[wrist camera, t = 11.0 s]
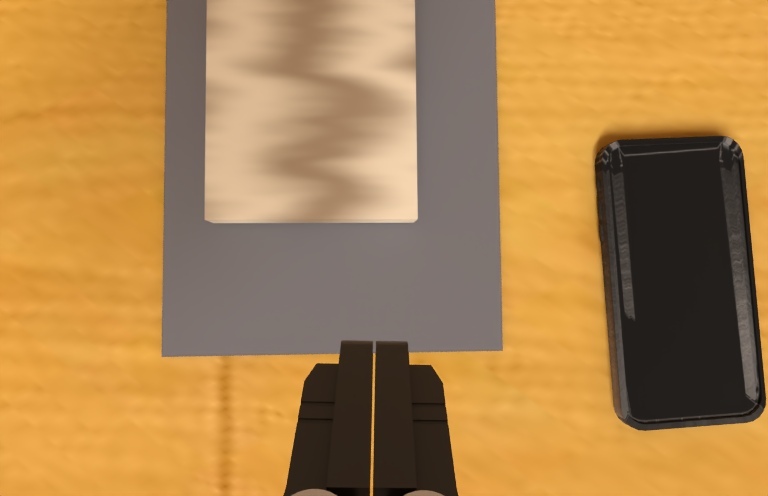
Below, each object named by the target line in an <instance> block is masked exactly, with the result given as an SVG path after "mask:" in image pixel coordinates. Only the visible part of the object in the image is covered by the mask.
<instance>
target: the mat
mask: <svg viewBox="0 0 768 496" xmlns="http://www.w3.org/2000/svg"><path fill="white" fill-rule="evenodd" d="M206 26H207V0H167V37H166V104H165V172H164V240H163V307H162V357H179V356H234V355H289V354H340V346H341V341H342V340H355V341H373V353H376V341H407V342H408V351H409V352H455V351H503V345H502V299H501V254H500V208H499V163H498V117H497V71H496V26H495V0H415V45H416V122H417V199H418V219H417V220H416V221H415V222H414V223H212V222H209V221H207V220H205V123H206Z"/></svg>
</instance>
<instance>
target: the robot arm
mask: <svg viewBox="0 0 768 496" xmlns="http://www.w3.org/2000/svg"><path fill="white" fill-rule="evenodd" d="M372 375H373V341H355V340H342V341H341V346H340V356H339V364H320V363H317V364H316V365H315V367H314V368H313V370H312V371H311V372H310V374H309V375H308V377H307V378H306V379H305V381H304V387H303V392H302V398H301V405H300V410H299V416H298V423H297V427H296V433H295V439H294V445H293V450H292V456H291V462H290V468H289V474H288V479H287V485H286V489H285V493H284V495H283V496H370V469H371V425H372ZM447 421H448V420H447V412H446V407H445V397H444V389H443V383H442V381H441V380H440V378H439V377H438V375H437V374H436V372H435V370H434V369H433V367H432V366H431V365H409V351H408V342H407V341H376V362H375V411H374V470H373V496H458V493H457V488H456V481H455V473H454V465H453V458H452V450H451V442H450V435H449V427H448V422H447Z"/></svg>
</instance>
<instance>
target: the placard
mask: <svg viewBox="0 0 768 496" xmlns="http://www.w3.org/2000/svg"><path fill="white" fill-rule="evenodd" d="M417 219H418V199H417V122H416V45H415V0H207V26H206V123H205V220H207V221H209V222H212V223H414V222H415V221H416V220H417Z"/></svg>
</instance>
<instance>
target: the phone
mask: <svg viewBox="0 0 768 496" xmlns="http://www.w3.org/2000/svg"><path fill="white" fill-rule="evenodd" d="M595 172H596V185H597V198H598V213H599V223H600V225H599V230H600V241H601V249H602V262H603V275H604V287H605V300H606V313H607V326H608V338H609V351H610V364H611V377H612V390H613V402H614V409H615V413H616V414H617V416H618V418H619V419H620V420H621V421H622V422H624V423H625V424H627V425H629V426H631V427H633V428H635V429H637V430H644V431H646V430H659V429H672V428H684V427H697V426H710V425H723V424H735V423H747V422H751V421H754V420H755V419H757V418H758V417H759V416H760V415H761V414H762V413H763V411H764V408H765V405H766V394H765V383H764V372H763V362H762V351H761V340H760V329H759V319H758V308H757V297H756V286H755V276H754V265H753V254H752V243H751V233H750V222H749V211H748V200H747V190H746V179H745V168H744V158H743V153H742V150H741V148H740V146H739V145H738V144H737V143H736V142H735V141H734V140H733V139H731V138H729V137H725V136H708V137H682V138H657V139H631V140H619V141H615V142H613V143H611V144H609V145H607V146H605V147H604V148H602V149H601V150H600V152H599V153H598V154H597V157H596V159H595Z"/></svg>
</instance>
